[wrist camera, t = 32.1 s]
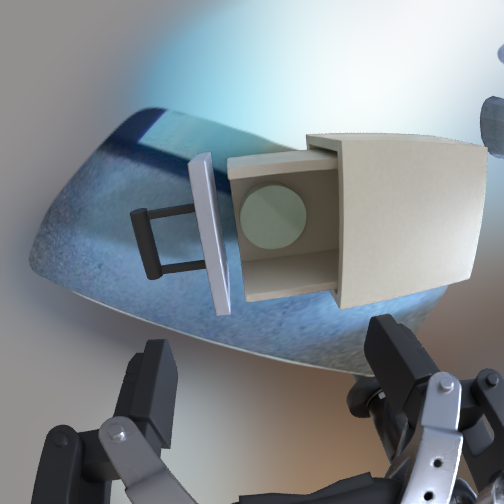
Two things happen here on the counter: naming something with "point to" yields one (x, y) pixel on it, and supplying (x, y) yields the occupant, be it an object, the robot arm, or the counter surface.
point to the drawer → (252, 257)
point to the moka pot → (493, 125)
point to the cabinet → (404, 212)
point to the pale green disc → (272, 215)
